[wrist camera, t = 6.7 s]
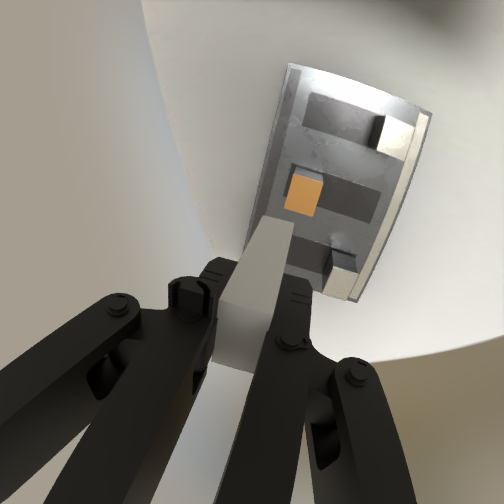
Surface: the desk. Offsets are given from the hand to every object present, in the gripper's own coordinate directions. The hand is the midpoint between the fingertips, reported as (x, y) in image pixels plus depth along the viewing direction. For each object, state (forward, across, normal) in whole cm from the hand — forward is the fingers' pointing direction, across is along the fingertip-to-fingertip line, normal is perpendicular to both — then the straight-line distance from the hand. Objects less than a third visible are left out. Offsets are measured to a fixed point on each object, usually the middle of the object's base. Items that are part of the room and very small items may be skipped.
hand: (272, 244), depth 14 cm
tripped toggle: (+14, +1, 0) cm, 14 cm away
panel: (+16, +4, 0) cm, 17 cm away
